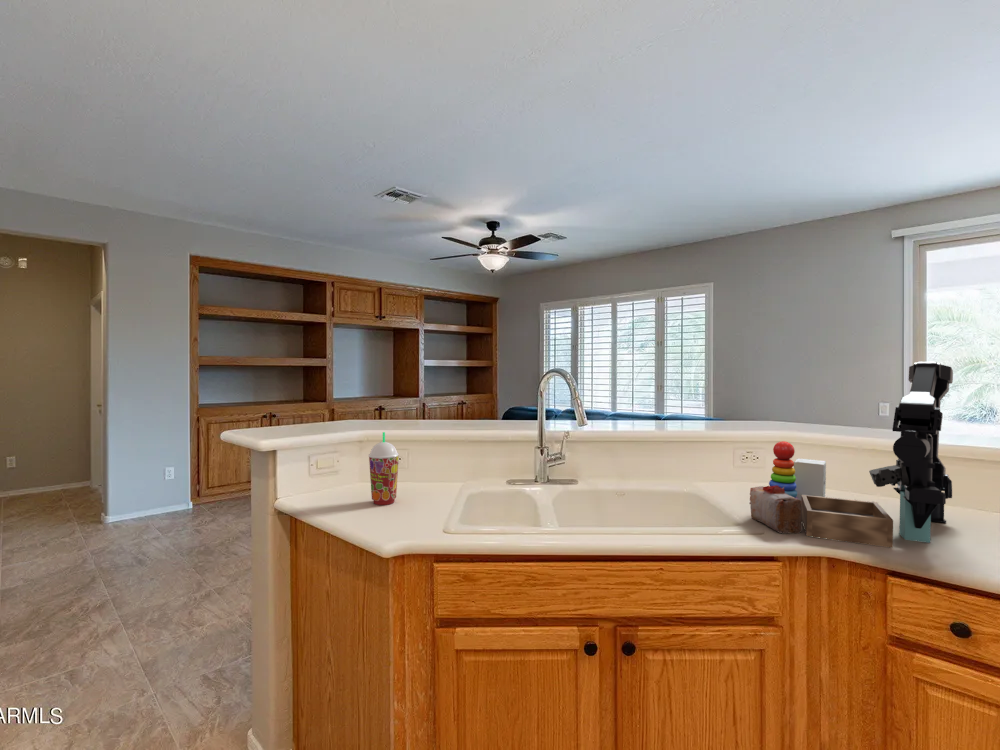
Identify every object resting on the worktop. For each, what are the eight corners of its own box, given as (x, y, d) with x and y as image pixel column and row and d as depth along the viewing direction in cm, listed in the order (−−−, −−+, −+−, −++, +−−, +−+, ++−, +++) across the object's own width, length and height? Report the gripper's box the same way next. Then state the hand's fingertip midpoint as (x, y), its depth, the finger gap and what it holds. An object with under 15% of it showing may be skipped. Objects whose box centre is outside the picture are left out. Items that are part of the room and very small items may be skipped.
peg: (924, 536, 119) (924, 493, 118) (930, 542, 114) (931, 498, 114) (899, 533, 121) (900, 491, 120) (904, 539, 117) (905, 495, 116)
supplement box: (823, 511, 139) (824, 464, 138) (792, 506, 143) (792, 461, 143) (826, 505, 145) (826, 460, 144) (795, 501, 149) (796, 457, 149)
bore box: (876, 526, 126) (877, 502, 125) (892, 547, 111) (893, 520, 111) (801, 517, 133) (801, 494, 133) (806, 536, 118) (807, 510, 118)
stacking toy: (759, 507, 142) (760, 440, 141) (779, 504, 145) (780, 438, 145) (785, 515, 135) (786, 444, 134) (805, 512, 138) (807, 442, 137)
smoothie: (362, 504, 143) (362, 433, 143) (380, 497, 151) (380, 429, 151) (387, 508, 140) (387, 435, 140) (404, 500, 148) (404, 431, 148)
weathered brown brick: (744, 517, 134) (745, 479, 133) (774, 516, 134) (774, 479, 134) (775, 534, 120) (776, 492, 120) (808, 534, 120) (809, 492, 120)
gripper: (865, 448, 129) (864, 509, 129) (882, 460, 112) (880, 531, 113) (921, 451, 124) (919, 515, 125) (947, 465, 107) (945, 539, 108)
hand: (914, 524), depth 118 cm, fingers open, 5 cm apart
